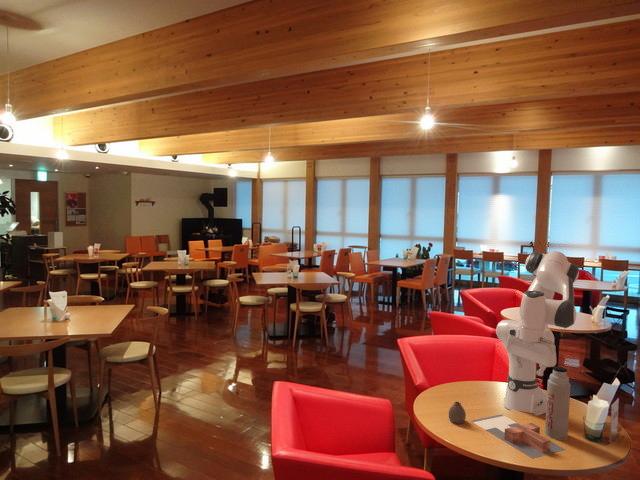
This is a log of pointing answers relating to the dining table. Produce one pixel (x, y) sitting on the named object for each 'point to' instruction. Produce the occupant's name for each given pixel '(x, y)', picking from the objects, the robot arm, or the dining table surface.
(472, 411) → the dining table surface
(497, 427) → the board
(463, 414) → the vase
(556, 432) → the thermos bottle
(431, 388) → the dining table surface
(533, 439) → the t block
